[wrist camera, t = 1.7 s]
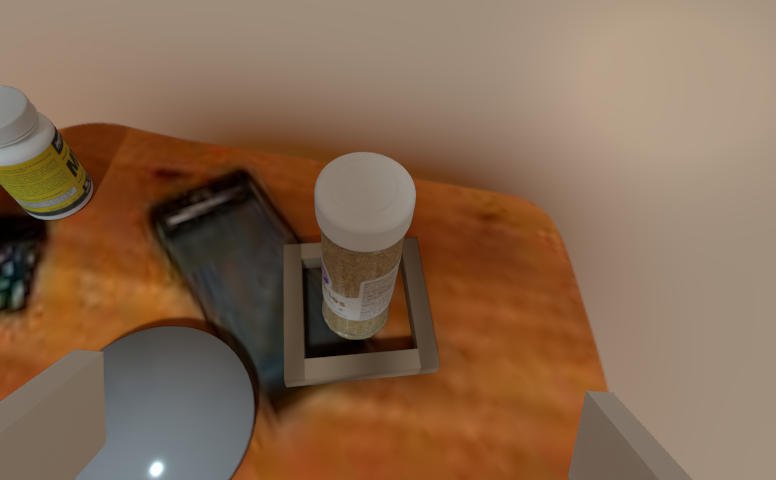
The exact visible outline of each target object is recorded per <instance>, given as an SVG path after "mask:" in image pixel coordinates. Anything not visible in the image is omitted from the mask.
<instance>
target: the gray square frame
mask: <svg viewBox="0 0 776 480" xmlns="http://www.w3.org/2000/svg"><path fill="white" fill-rule="evenodd" d="M321 249H322V244H321V243H306V244H288V245H283V251H284V381H285V384H286V387H294V386H304V385H314V384H324V383H334V382H344V381H355V380H365V379H375V378H385V377H395V376H406V375H416V374H426V373H436V372H437V370H438V368H439V367H440V363H439V357H438V352H437V346H436V341H435V335H434V330H433V324H432V319H431V313H430V308H429V302H428V297H427V291H426V286H425V280H424V275H423V269H422V264H421V258H420V253H419V247H418V242H417V237H411V238H404V241H403V244H402V255H401V259H400V263H401V270H402V276H403V283H404V289H405V296H406V302H407V309H408V315H409V321H410V328H411V334H412V341H413V347H414V349H409V350H398V351H387V352H376V353H365V354H354V355H343V356H332V357H321V358H310V359H306V356H305V323H304V290H303V269H304V268H319V267H322V264H321Z"/></svg>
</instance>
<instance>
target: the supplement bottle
mask: <svg viewBox="0 0 776 480" xmlns="http://www.w3.org/2000/svg"><path fill="white" fill-rule="evenodd" d="M0 184H1V185H2V186H3V187H4V188H5V190H6V191H7V192H8V193H9V194H10V195H11V196H12V197H13V198H14V199H15V200H16V201H17V202H18V203H19V204H20V205H21V207H22V208H23V209H24V210H25V211H26V212H27V213H29V214H30V215H32V216H34V217H36V218H39V219H44V220H54V219H60V218H64V217H67V216H69V215H72V214H74V213H75V212H77V211H78V210H80V209H81V208H82V207H84V206H85V205H86V204H87V202H88V201H89V200H90V198H91V196H92V193H93V183H92V180H91V178H90V177H89V175H88V174H87V172H86V171H85V169H84V168H83V167H82V165H81V164H80V162H79V161H78V159H77V158H76V156H75V155H74V153H73V152H72V151H71V149H70V148H69V146H68V145H67V143H66V142H65V141H64V139H63V138H62V136H61V135H60V133H59V132H58V130H57V129H56V127H55V126H54V125H53V123H52V122H51V121H50V120H49V119H48V118H47V117H46V116H45V115H43V114H41V113H39V112H37V110H36V108H35V107H34V105H33V104H32V103H31V102H30V101H29V100H28V98H27V97H26V96H25V94H24V93H23V92H21V91H20V90H18V89H16V88H13V87H8V86H0Z"/></svg>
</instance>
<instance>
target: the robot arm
mask: <svg viewBox="0 0 776 480" xmlns="http://www.w3.org/2000/svg"><path fill="white" fill-rule="evenodd" d="M105 444H106V420H105V390H104V360H103V352H97V351H85V350H72V351H71V352H70V353H68V354H67V355H65V356H64V357H63V358H61V359H60V360H58V361H57V362H55V363H54V364H53V365H51V366H50V367H48V368H47V369H46V370H44V371H43V372H41V373H40V374H38V375H37V376H36V377H34V378H33V379H31V380H30V381H29V382H27V383H26V384H24V385H23V386H21V387H20V388H19V389H17V390H16V391H14V392H13V393H12V394H10V395H9V396H7V397H6V398H4V399H3V400H2V401H0V480H74V479H75V478H76V477H77V476H78V475H79V474H80V473H81V471H82V470H83V469H84V468H85V467H86V466H87V465H88V463H89V462H90V461H91V460H92V459H93V458H94V457H95V456H96V454H97V453H98V452H99V451H100V450H101V449H102V448H103V446H104V445H105ZM568 477H569V479H570V480H692V479H691V477H690V476H689V475H688V474H687V473H686V472H685V471H684V470H683V469H682V468H681V467H680V465H679V464H678V463H677V462H676V461H675V460H674V459H673V458H672V457H671V456H670V455H669V454H668V452H667V451H666V450H665V449H664V448H663V447H662V446H661V445H660V444H659V443H658V441H657V440H656V439H655V438H654V437H653V436H652V435H651V434H650V433H649V432H648V431H647V429H646V428H645V427H644V426H643V425H642V424H641V423H640V422H639V421H638V420H637V419H636V418H635V416H633V414H632V413H631V412H630V411H629V410H628V409H627V408H626V407H625V405H624V404H623V403H622V402H621V401H620V400H619V399H618V398H617V397H616V396H615V395H614V394H613V393H608V392H596V391H586V394H585V398H584V403H583V408H582V413H581V417H580V422H579V427H578V432H577V436H576V441H575V446H574V451H573V455H572V460H571V465H570V470H569V474H568Z"/></svg>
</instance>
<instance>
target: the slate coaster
mask: <svg viewBox="0 0 776 480" xmlns="http://www.w3.org/2000/svg"><path fill="white" fill-rule="evenodd" d="M99 352H103V360H104V390H105V420H106V444H105V445H104V446H103V448H102V449H101V450H100V451H99V452H98V453H97V454H96V456H95V457H94V458H93V459H92V460H91V461H90V462H89V463H88V465H87V466H86V467H85V468H84V469H83V470H82V471H81V473H80V474H79V475H78V476H77V477H76V478H75V479H74V480H231V479H232V478H233V477H234V475H235V474H236V472H237V470H238V469H239V467H240V466H241V464H242V462H243V459H244V457H245V455H246V453H247V451H248V448H249V445H250V442H251V439H252V435H253V431H254V426H255V416H256V404H255V395H254V390H253V386H252V383H251V380H250V377H249V375H248V373H247V371H246V369H245V367H244V365H243V364H242V362H241V361H240V359H239V358H238V356H237V355H236V354H235V353H234V352H233V351H232V349H231V348H230V347H229V346H228V345H226V344H225V343H224V342H222V341H221V340H220V339H218V338H216V337H214V336H213V335H211V334H209V333H206V332H204V331H201V330H198V329H193V328H189V327H181V326H163V327H156V328H150V329H146V330H142V331H139V332H136V333H133V334H130V335H128V336H125V337H123V338H121V339H119V340H117V341H115V342H113V343H112V344H110V345H108V346H107V347H105V348H104V349H102V350H101V351H99Z"/></svg>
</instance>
